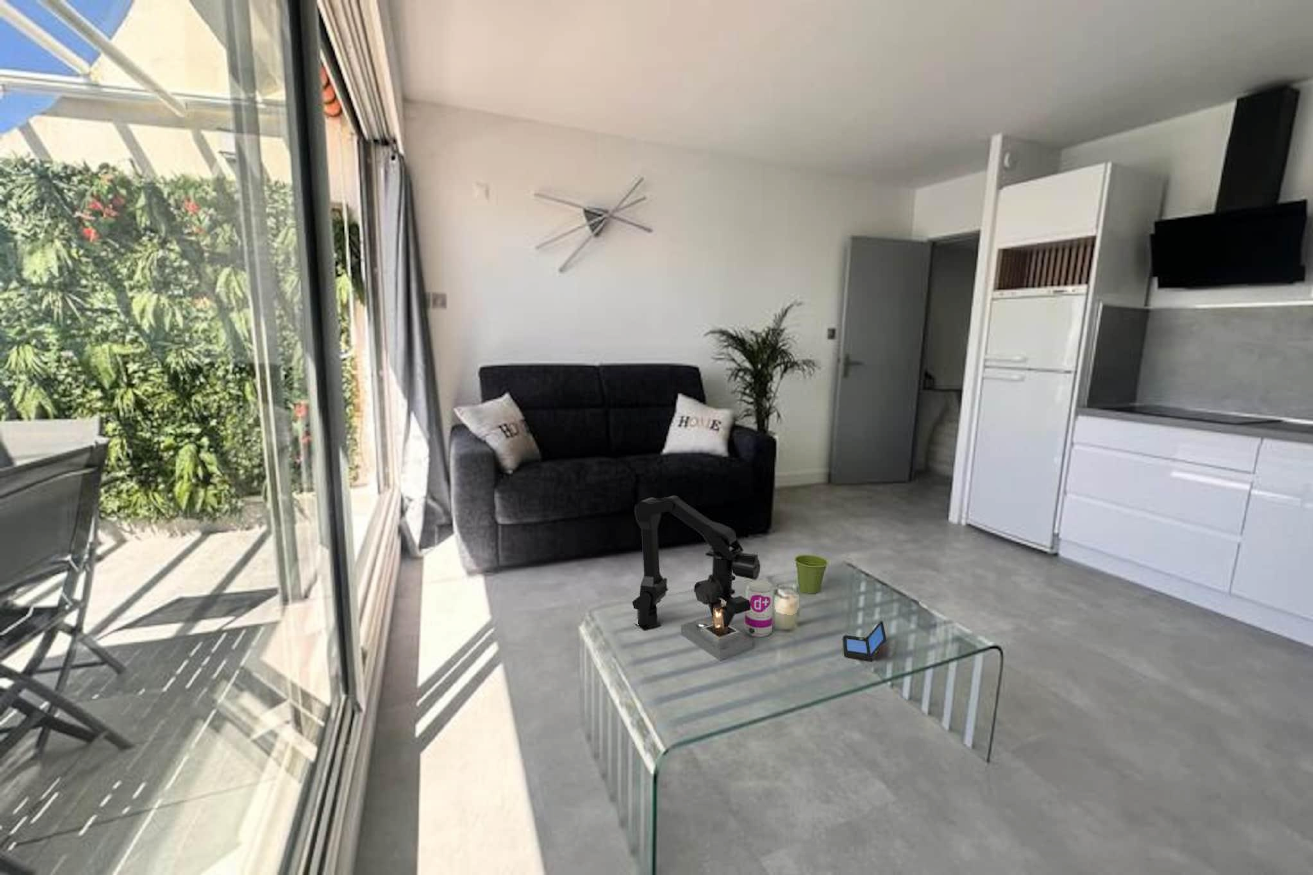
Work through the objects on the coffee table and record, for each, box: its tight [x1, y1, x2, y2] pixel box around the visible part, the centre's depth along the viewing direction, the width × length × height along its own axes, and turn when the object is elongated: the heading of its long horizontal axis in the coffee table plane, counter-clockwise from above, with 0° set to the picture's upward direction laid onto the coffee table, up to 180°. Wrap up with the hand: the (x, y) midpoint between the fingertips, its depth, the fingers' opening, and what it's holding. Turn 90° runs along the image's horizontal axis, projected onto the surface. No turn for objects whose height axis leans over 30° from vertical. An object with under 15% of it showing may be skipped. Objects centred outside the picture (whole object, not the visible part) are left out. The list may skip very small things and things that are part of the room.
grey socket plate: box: [680, 615, 754, 661], centre depth 169 cm, size 18×12×4 cm, turn 34°
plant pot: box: [793, 554, 829, 595], centre depth 207 cm, size 12×12×11 cm
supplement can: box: [743, 579, 775, 638], centre depth 175 cm, size 8×8×15 cm
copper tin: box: [713, 603, 728, 637], centre depth 167 cm, size 4×4×8 cm
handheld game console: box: [842, 620, 887, 663], centre depth 165 cm, size 12×11×7 cm
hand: (720, 624), depth 167 cm, fingers closed on copper tin, 4 cm apart
